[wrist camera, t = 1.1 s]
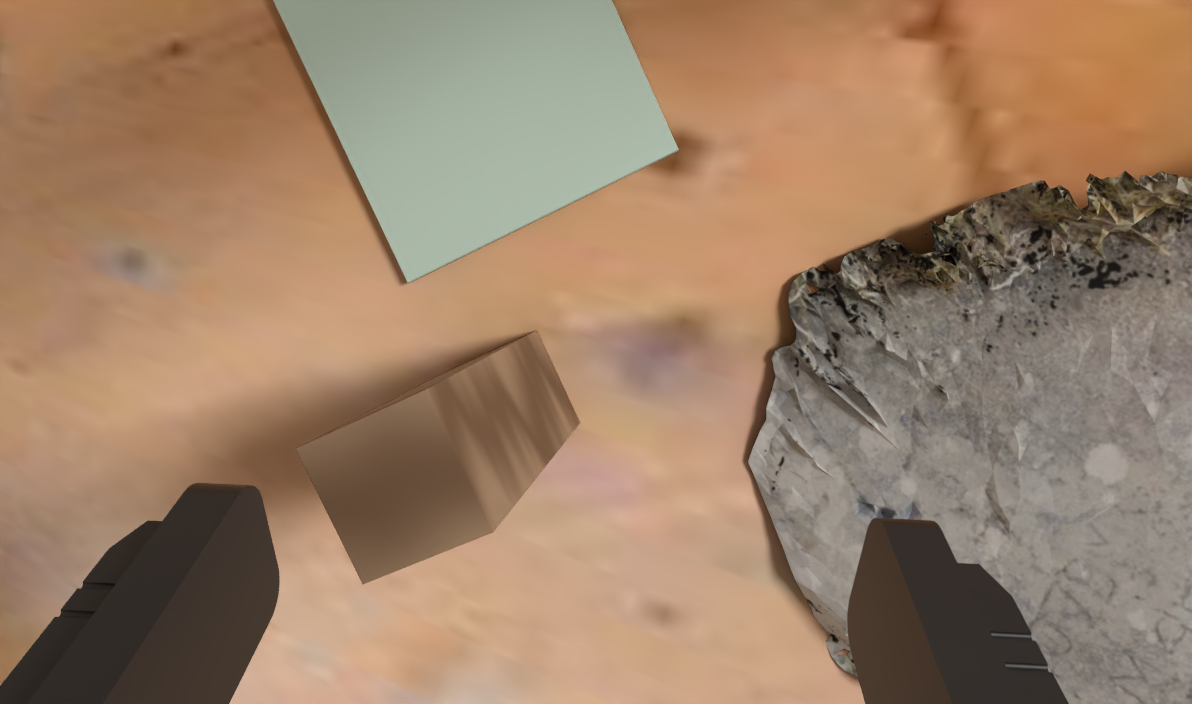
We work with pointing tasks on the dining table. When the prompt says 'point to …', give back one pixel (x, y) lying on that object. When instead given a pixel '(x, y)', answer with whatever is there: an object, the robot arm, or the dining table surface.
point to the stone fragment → (1008, 422)
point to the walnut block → (441, 458)
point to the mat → (477, 111)
